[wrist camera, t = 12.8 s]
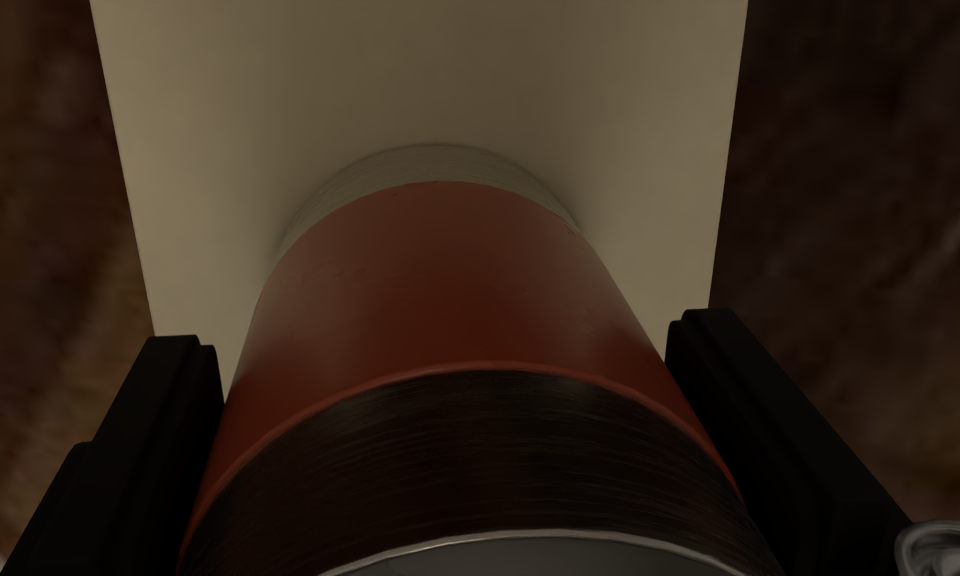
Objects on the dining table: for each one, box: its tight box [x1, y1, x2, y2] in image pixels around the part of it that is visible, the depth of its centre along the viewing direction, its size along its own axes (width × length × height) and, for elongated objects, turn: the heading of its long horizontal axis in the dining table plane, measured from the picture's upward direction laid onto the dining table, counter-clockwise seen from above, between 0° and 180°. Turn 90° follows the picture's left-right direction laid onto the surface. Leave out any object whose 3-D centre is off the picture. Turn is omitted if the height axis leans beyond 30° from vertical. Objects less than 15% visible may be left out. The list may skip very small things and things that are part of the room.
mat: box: [90, 0, 748, 402], centre depth 15 cm, size 10×10×1 cm
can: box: [173, 145, 787, 576], centre depth 10 cm, size 6×6×9 cm
